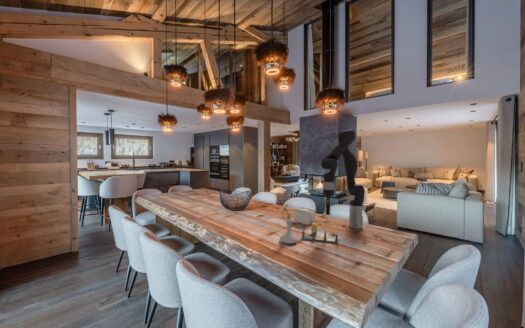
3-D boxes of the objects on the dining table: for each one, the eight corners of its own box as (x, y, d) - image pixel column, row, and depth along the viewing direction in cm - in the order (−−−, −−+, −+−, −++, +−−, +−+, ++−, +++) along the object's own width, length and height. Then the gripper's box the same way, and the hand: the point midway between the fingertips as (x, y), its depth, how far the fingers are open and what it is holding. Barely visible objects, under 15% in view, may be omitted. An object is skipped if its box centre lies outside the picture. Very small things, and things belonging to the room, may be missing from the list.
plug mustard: (316, 233, 161) (317, 223, 161) (316, 234, 158) (316, 224, 158) (311, 232, 162) (311, 223, 162) (311, 234, 159) (311, 224, 158)
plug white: (330, 214, 156) (330, 204, 155) (330, 215, 152) (330, 205, 152) (324, 213, 157) (325, 203, 156) (324, 215, 153) (325, 204, 153)
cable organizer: (315, 223, 185) (316, 209, 184) (308, 226, 177) (308, 211, 177) (300, 219, 196) (300, 206, 195) (293, 222, 188) (293, 208, 188)
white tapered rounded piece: (285, 237, 152) (285, 200, 151) (300, 241, 146) (301, 202, 145) (274, 243, 142) (275, 203, 141) (291, 248, 135) (291, 206, 134)
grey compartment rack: (337, 240, 148) (337, 231, 148) (337, 243, 143) (337, 234, 142) (302, 236, 154) (303, 228, 154) (302, 239, 148) (302, 231, 148)
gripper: (334, 190, 146) (333, 216, 147) (334, 187, 160) (333, 211, 160) (322, 189, 148) (321, 215, 149) (323, 186, 162) (322, 210, 162)
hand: (327, 213), depth 154 cm, fingers closed on plug white, 3 cm apart
